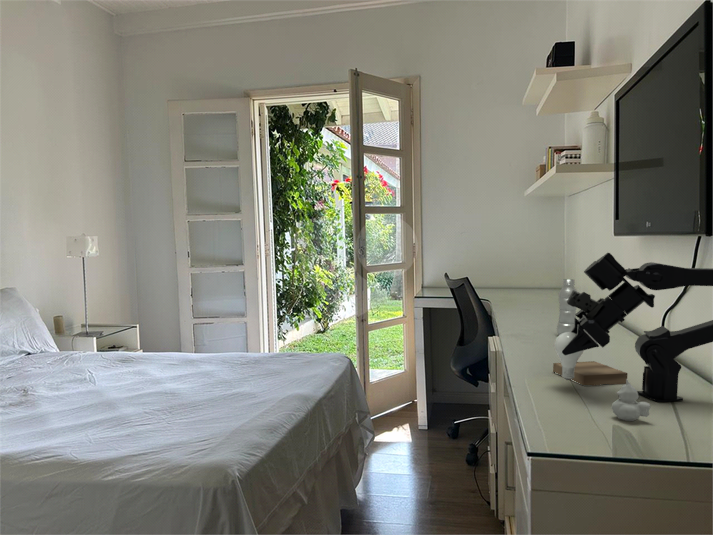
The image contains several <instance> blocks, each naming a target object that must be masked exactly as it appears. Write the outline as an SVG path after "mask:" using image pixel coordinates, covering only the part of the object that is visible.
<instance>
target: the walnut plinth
mask: <svg viewBox="0 0 713 535" xmlns="http://www.w3.org/2000/svg"><path fill="white" fill-rule="evenodd" d="M552 367H553V369H552V373H553V372H556V373H558V374H560V375H562V365H561V362H554V363H553V366H552ZM574 371H575V372H574V378H573V379H572V380H574V381H576V382H578V383H580V384H582V385H592V386H603V385H602V384H609V385H620V384H623V385H625V384H626V379H627V380H628V372H625V371H623V370H619V369H617V368H614V367H611V366H610V365H606V364H602V363H600V362H597V361H594V360H593V361H591V360H590V361H577V364H576V366H575V370H574ZM578 383H577V384H578ZM580 384H579V385H580ZM600 384H601V385H600ZM582 385H581V386H582Z"/></svg>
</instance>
